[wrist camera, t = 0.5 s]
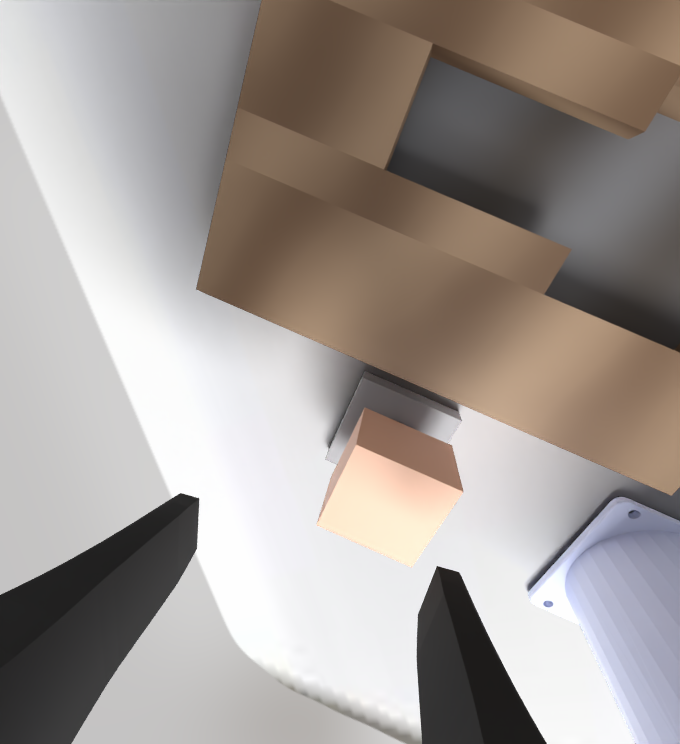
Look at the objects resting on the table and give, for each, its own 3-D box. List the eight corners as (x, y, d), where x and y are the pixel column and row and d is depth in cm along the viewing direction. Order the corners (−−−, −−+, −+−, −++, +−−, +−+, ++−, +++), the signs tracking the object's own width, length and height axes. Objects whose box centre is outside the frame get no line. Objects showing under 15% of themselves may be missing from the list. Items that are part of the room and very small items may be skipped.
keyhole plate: (978, 37, 10) (1205, -45, 8) (622, 450, 16) (671, 496, 13) (363, -213, 11) (348, -385, 8) (232, 281, 17) (195, 289, 14)
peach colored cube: (458, 411, 17) (484, 487, 12) (413, 486, 19) (417, 580, 14) (364, 370, 17) (348, 427, 12) (328, 448, 19) (300, 528, 14)
